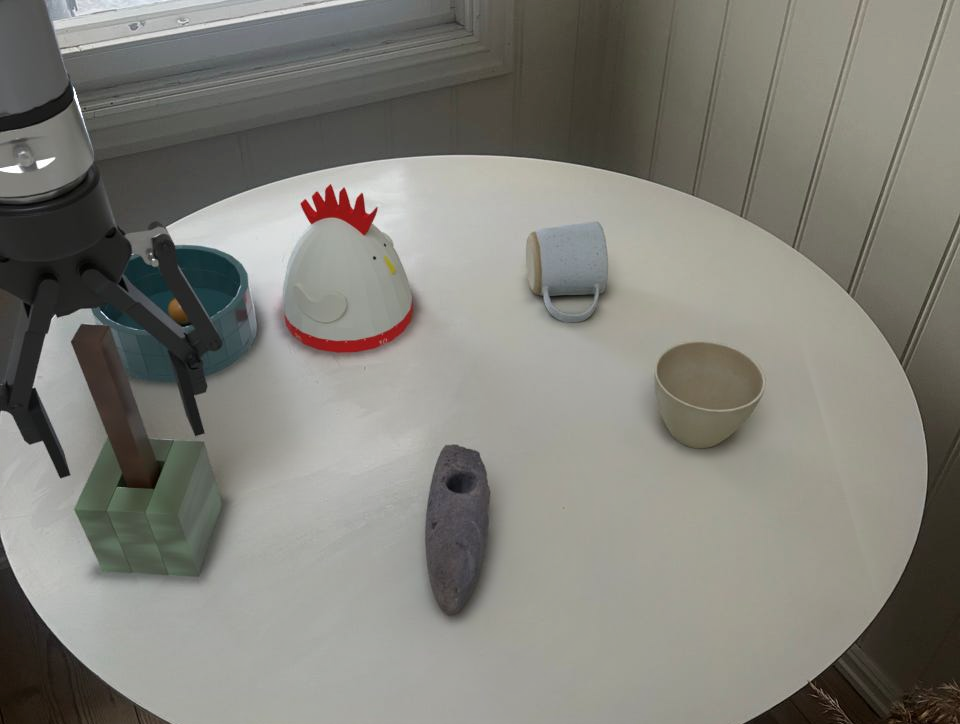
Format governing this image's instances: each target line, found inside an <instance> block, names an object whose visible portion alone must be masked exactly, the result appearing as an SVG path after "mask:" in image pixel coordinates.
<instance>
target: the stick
mask: <svg viewBox="0 0 960 724" xmlns="http://www.w3.org/2000/svg"><path fill="white" fill-rule="evenodd" d="M70 344H71V346H72V349H73V352H74V354H75V357H76V359H77V361H78V364H79V367H80V369H81V373H82V374H83V377H84V379H85V382H86V385H87V387H88V390H89V392H90V395H91V397H92V400H93V402H94V405H95V408H96V409H97V413H98V415H99V418H100V420H101V423H102V426H103V428H104V430H105V434H106V436H107V437H108V438H109V441H110V443H111V446H112V448H113V451H114V454H115V456H116V459H117V461H118V464H119V466H120V469H121V471H122V474H123V476H124V479H125V482H126V484H127V487H128V488H145V489H155V487H156V484H157V482H158V479H159V477H160V474H161V472H160V470H159V467H158V464H157V461H156V458H155V455H154V452H153V449H152V447H151V444H150V441H149V439H150V438H149V435H148V432H147V430H146V427H145V423H144V420H143V418H142V415H141V412H140V409H139V406H138V403H137V401H136V398H135V395H134V392H133V389H132V386H131V383H130V380H129V377H128V374H126V372H125V369H124V366H123V363H122V360H121V357H120V354H119V352H118V349H117V346H116V343H115V340H114V337H113V334H112V331H111V329H110V326H109V325H97V324H96V323H95V324H94V323H80V325H79V327H78V328H77V330H76V332H75V333H74V335H73V337H72V338H71V340H70Z"/></svg>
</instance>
